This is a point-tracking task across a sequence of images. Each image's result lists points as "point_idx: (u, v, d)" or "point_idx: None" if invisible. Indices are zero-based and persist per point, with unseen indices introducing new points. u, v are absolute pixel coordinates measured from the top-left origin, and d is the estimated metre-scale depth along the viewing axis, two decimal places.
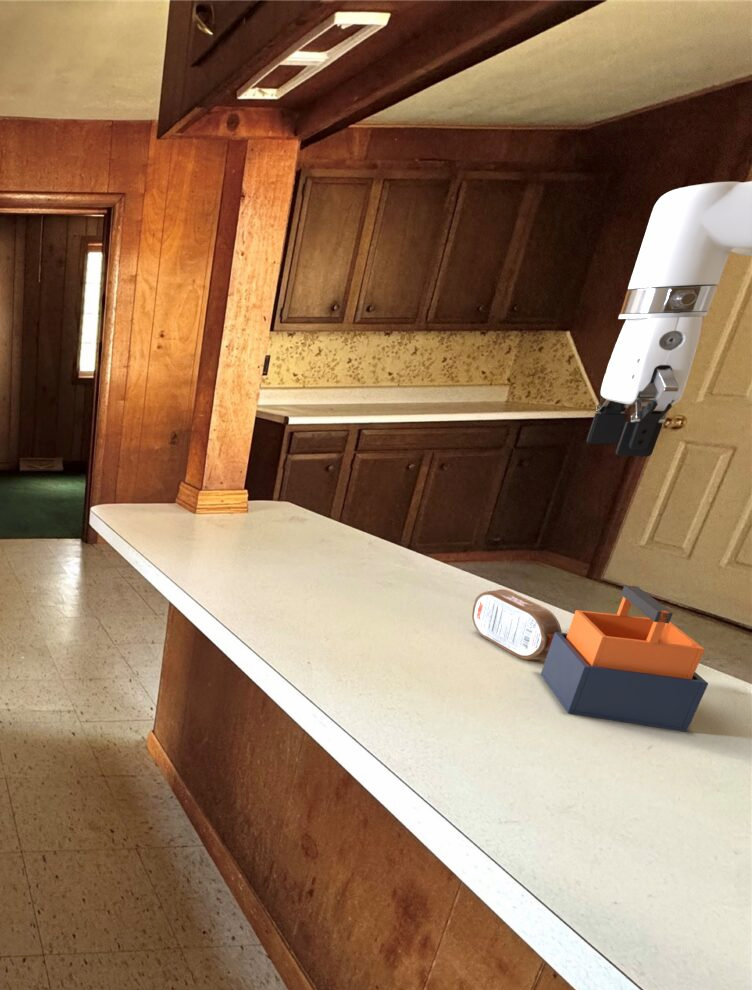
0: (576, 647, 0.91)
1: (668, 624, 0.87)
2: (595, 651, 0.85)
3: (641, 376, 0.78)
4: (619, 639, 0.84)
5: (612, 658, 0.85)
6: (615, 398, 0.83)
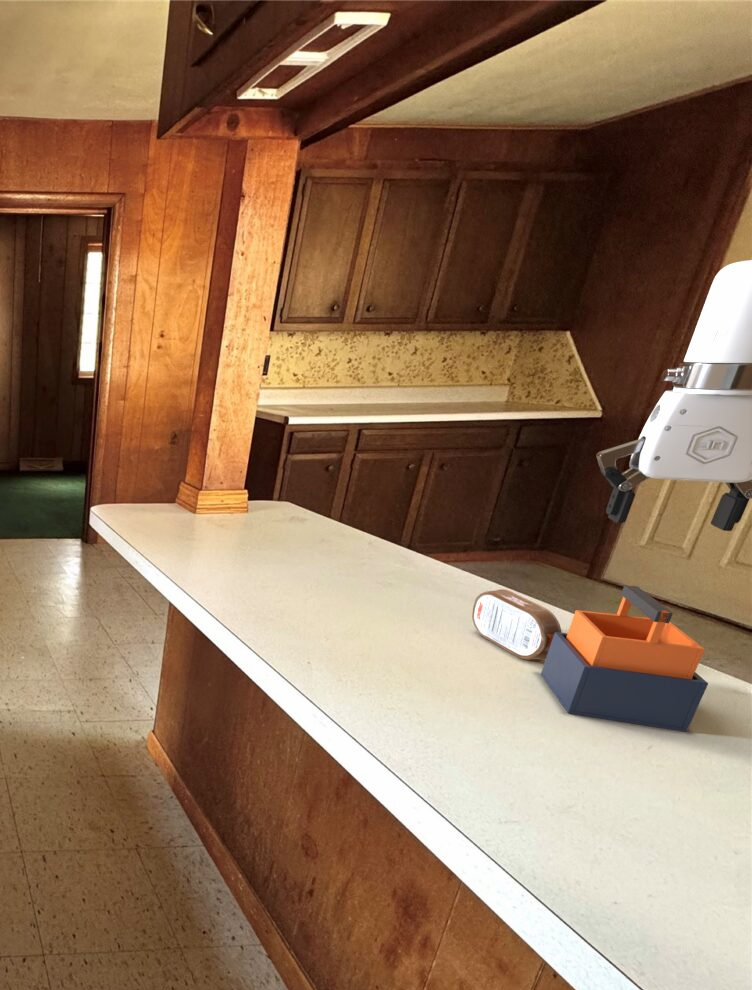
0: (576, 647, 0.91)
1: (668, 624, 0.87)
2: (595, 651, 0.85)
3: None
4: (619, 639, 0.84)
5: (612, 658, 0.85)
6: None
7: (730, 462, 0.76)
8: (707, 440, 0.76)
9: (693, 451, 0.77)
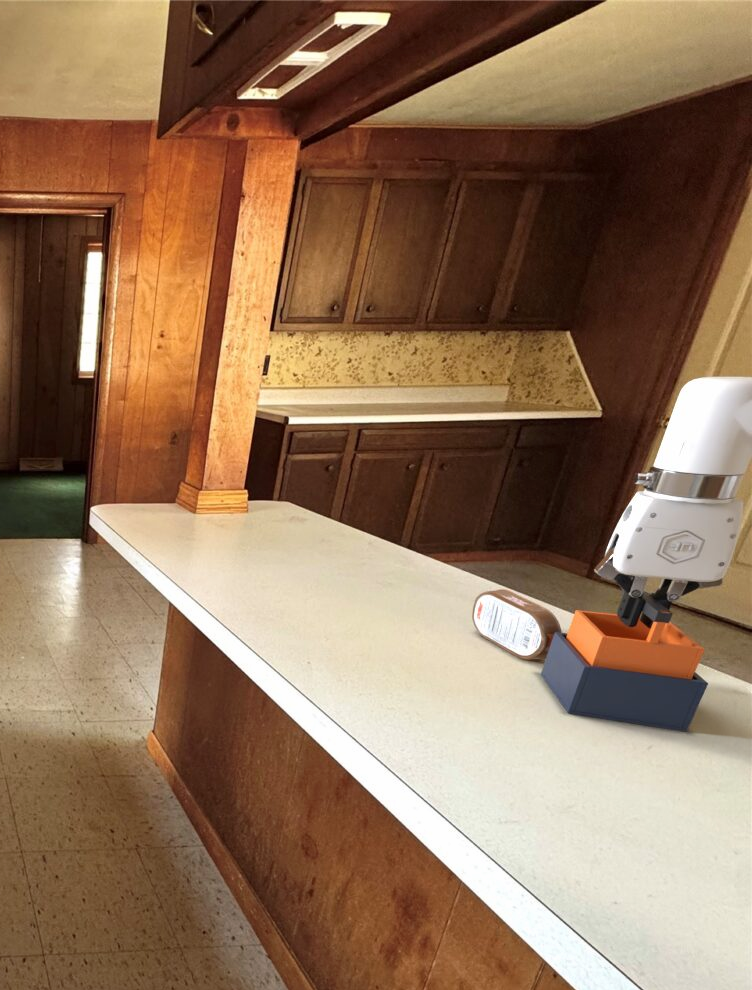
0: (576, 647, 0.91)
1: (668, 624, 0.87)
2: (595, 651, 0.85)
3: (610, 539, 0.86)
4: (619, 639, 0.84)
5: (612, 658, 0.85)
6: None
7: (698, 563, 0.79)
8: (676, 542, 0.80)
9: (663, 552, 0.80)
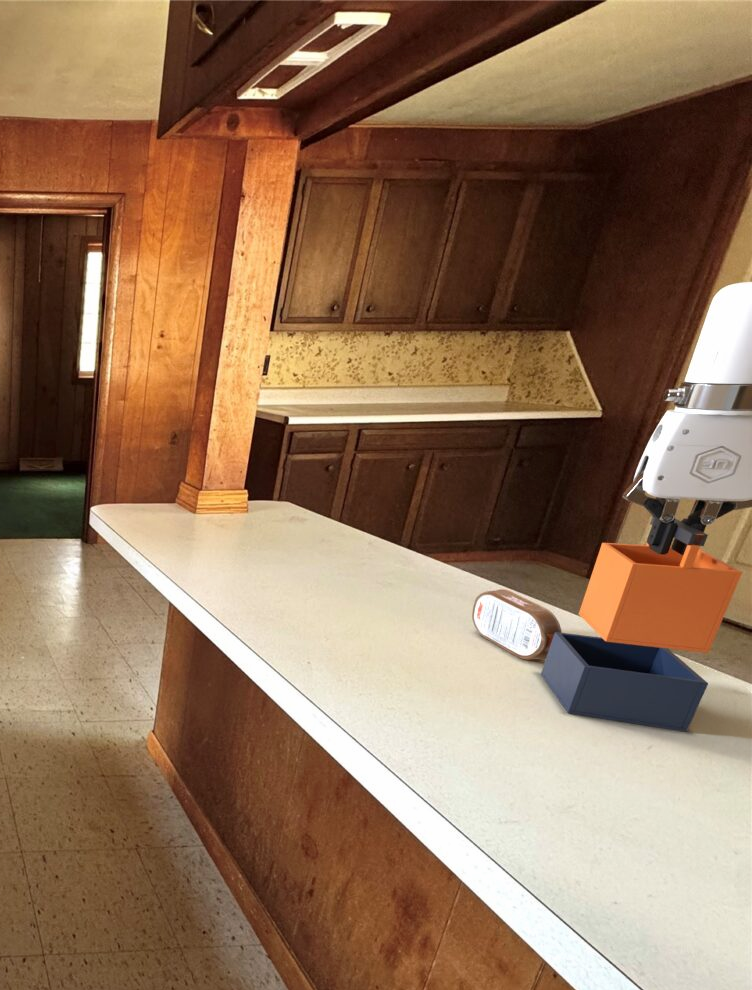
0: (604, 580, 0.87)
1: (701, 552, 0.83)
2: (625, 580, 0.82)
3: (639, 463, 0.82)
4: (651, 566, 0.80)
5: (643, 586, 0.81)
6: None
7: (734, 481, 0.76)
8: (710, 459, 0.76)
9: (697, 470, 0.77)
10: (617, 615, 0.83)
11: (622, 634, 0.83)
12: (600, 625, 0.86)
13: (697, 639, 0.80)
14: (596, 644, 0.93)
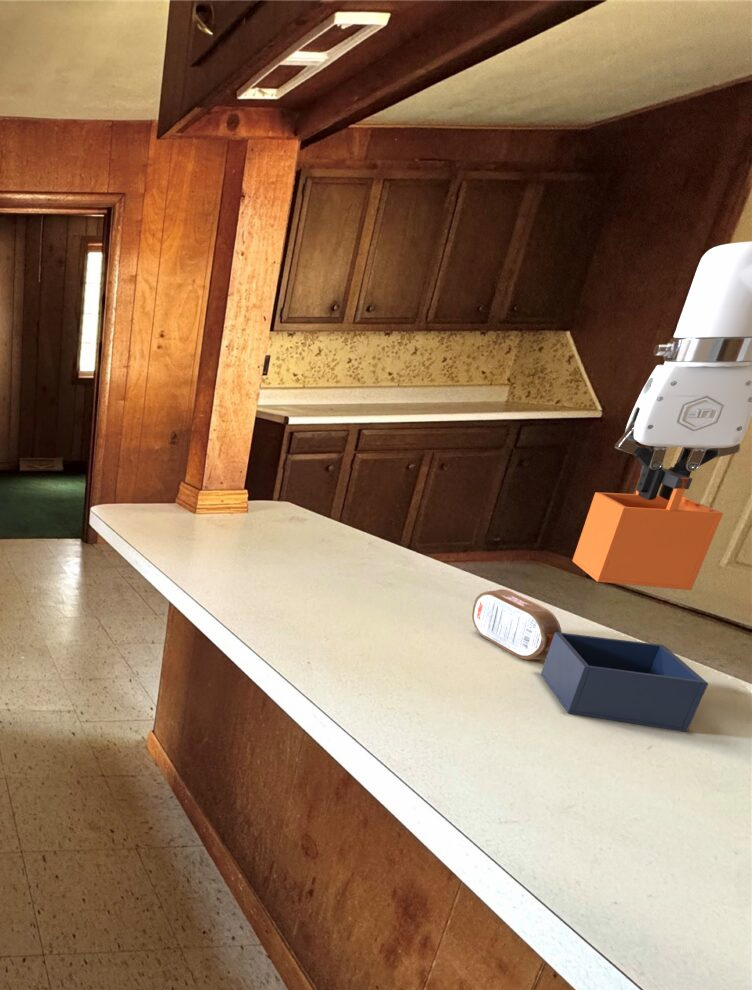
0: (596, 526, 0.93)
1: (686, 499, 0.90)
2: (616, 523, 0.88)
3: None
4: (640, 509, 0.87)
5: (633, 528, 0.88)
6: None
7: (717, 429, 0.82)
8: (696, 409, 0.83)
9: (683, 419, 0.83)
10: (608, 556, 0.90)
11: (612, 574, 0.90)
12: (592, 567, 0.93)
13: (681, 577, 0.87)
14: (596, 644, 0.93)
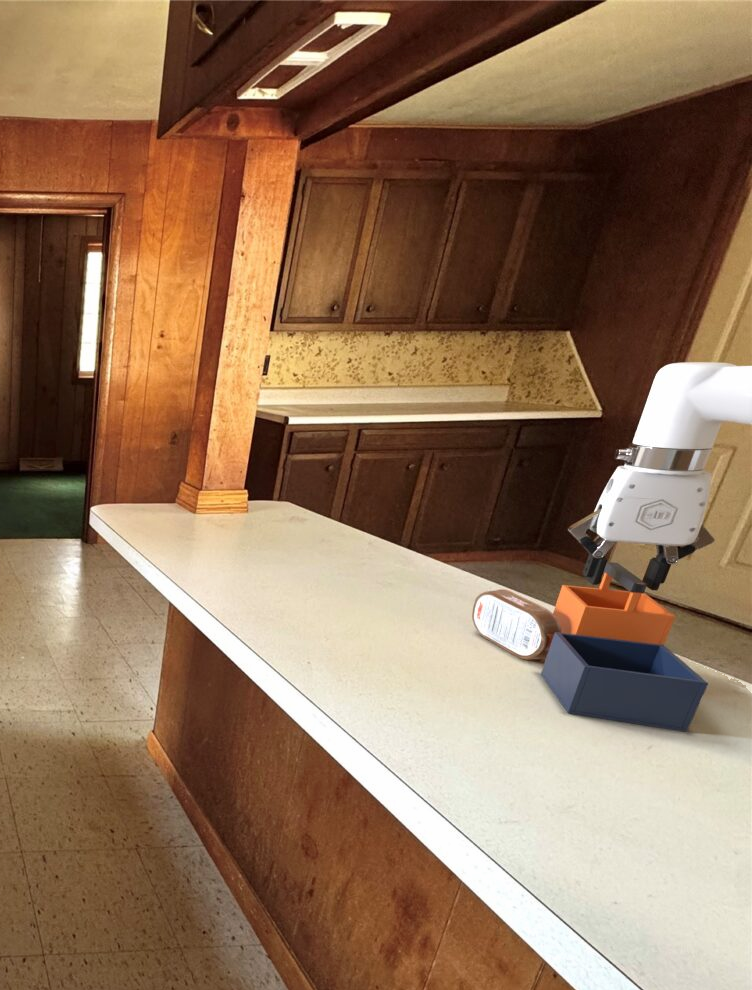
0: (562, 618, 1.01)
1: (644, 596, 0.97)
2: (579, 620, 0.96)
3: None
4: (600, 608, 0.94)
5: (594, 626, 0.95)
6: None
7: (672, 529, 0.89)
8: (652, 510, 0.89)
9: (641, 519, 0.90)
10: None
11: None
12: None
13: None
14: (596, 644, 0.93)
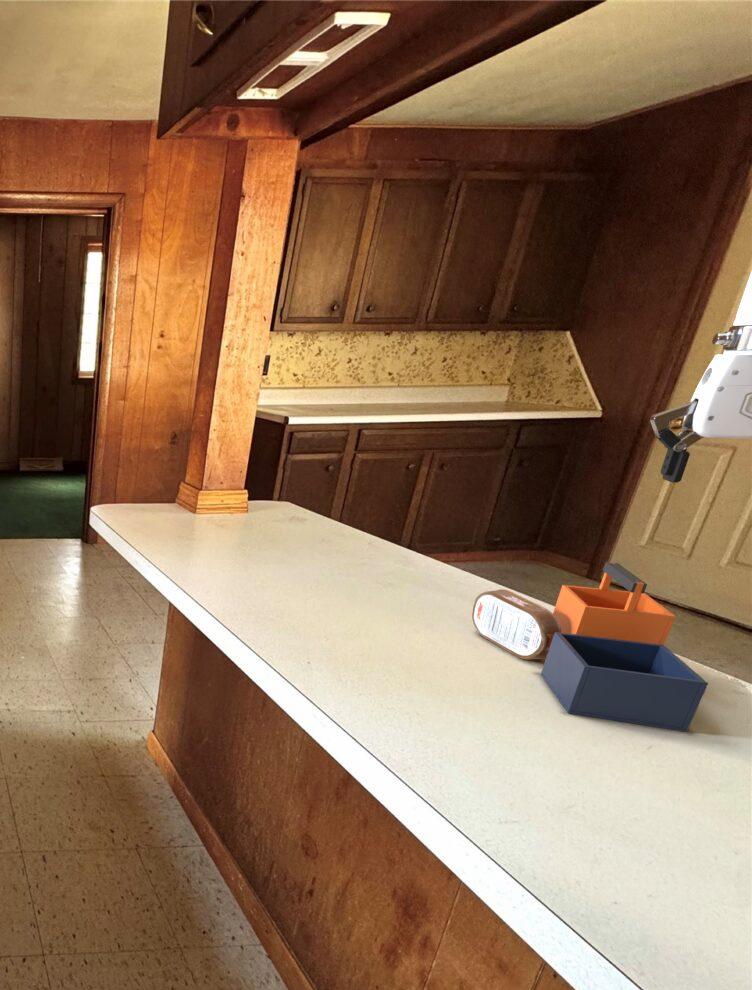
0: (562, 618, 1.01)
1: (644, 596, 0.97)
2: (579, 620, 0.96)
3: None
4: (600, 608, 0.94)
5: (594, 626, 0.95)
6: None
7: None
8: None
9: (746, 410, 0.80)
10: None
11: None
12: None
13: None
14: (596, 644, 0.93)
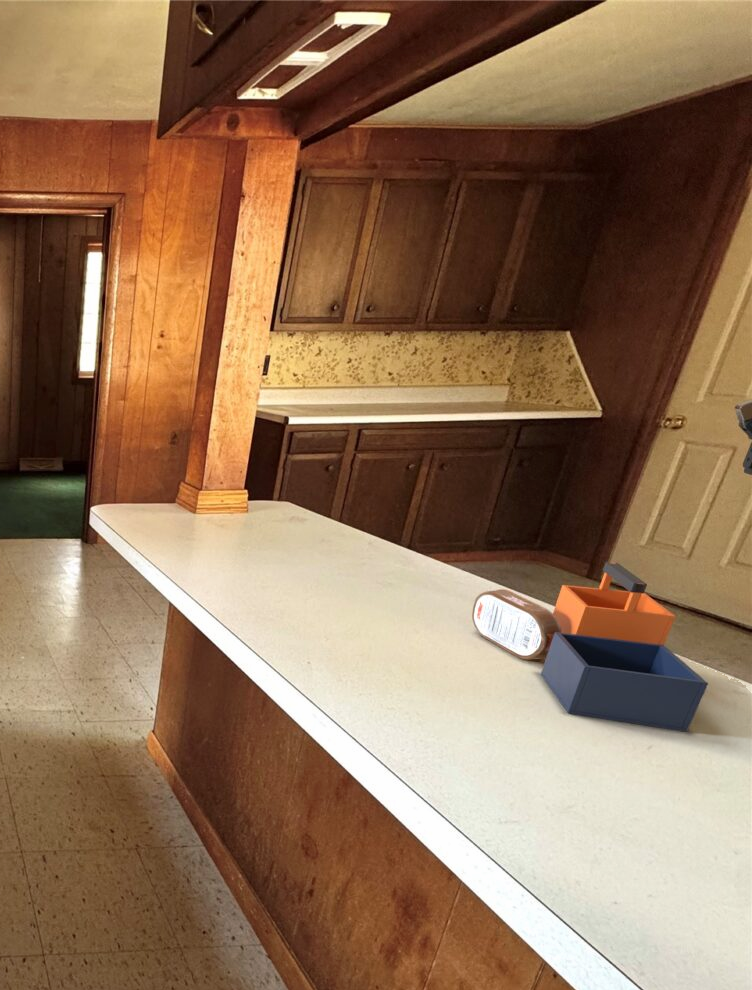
0: (562, 618, 1.01)
1: (644, 596, 0.97)
2: (579, 620, 0.96)
3: None
4: (600, 608, 0.94)
5: (594, 626, 0.95)
6: None
7: None
8: None
9: None
10: None
11: None
12: None
13: None
14: (596, 644, 0.93)
